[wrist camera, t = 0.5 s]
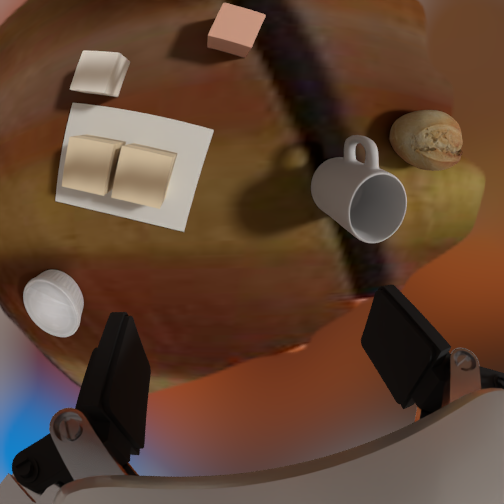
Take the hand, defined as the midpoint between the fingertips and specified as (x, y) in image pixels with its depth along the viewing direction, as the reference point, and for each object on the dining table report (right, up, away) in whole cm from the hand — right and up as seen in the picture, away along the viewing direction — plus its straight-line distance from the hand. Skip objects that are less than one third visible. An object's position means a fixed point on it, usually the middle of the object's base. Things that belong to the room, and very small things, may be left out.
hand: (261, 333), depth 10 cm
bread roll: (+27, +22, +26) cm, 43 cm away
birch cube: (-19, +25, +15) cm, 35 cm away
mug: (+12, +14, +27) cm, 32 cm away
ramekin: (-33, -4, +27) cm, 43 cm away
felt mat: (-17, +14, +21) cm, 30 cm away
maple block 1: (-20, +15, +20) cm, 32 cm away
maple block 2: (-13, +13, +22) cm, 29 cm away
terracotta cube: (-3, +30, +16) cm, 34 cm away
